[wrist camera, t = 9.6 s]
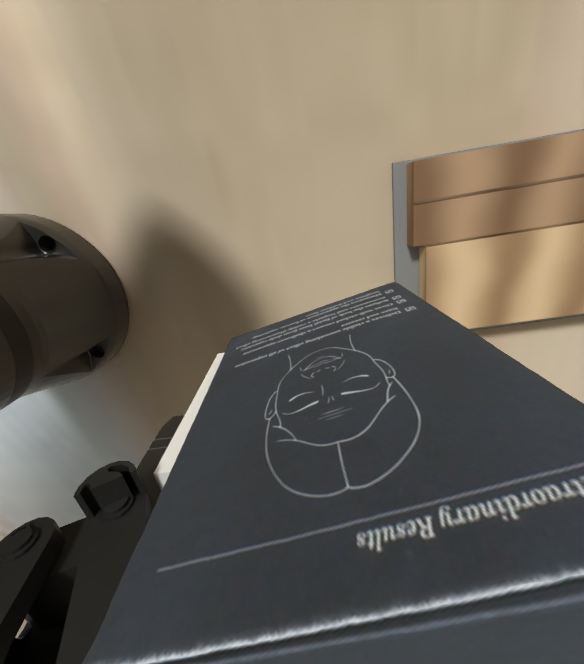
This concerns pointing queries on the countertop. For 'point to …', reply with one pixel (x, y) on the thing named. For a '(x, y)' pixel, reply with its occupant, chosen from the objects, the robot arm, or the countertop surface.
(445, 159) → the floor strip
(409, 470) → the box
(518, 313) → the plank
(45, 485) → the countertop surface
